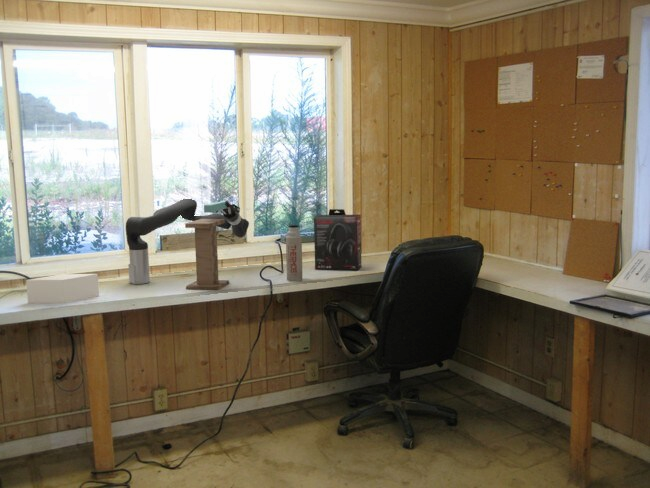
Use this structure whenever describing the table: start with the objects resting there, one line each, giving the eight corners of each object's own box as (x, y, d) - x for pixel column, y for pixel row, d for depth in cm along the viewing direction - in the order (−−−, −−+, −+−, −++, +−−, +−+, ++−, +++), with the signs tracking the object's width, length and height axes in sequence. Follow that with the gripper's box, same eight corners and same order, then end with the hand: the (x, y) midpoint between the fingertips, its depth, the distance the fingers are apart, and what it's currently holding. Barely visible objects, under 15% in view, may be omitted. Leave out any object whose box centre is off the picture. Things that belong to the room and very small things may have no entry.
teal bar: (222, 207, 343) (222, 200, 343) (229, 207, 343) (228, 200, 342) (204, 212, 318) (203, 205, 318) (210, 212, 317) (210, 205, 317)
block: (100, 299, 296) (99, 276, 294) (28, 307, 284) (26, 283, 282) (97, 293, 310) (96, 271, 308) (28, 300, 297) (26, 277, 296)
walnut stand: (200, 281, 332) (197, 218, 327) (230, 282, 329) (228, 219, 324) (184, 290, 313) (181, 223, 308) (216, 291, 310) (213, 223, 305)
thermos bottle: (298, 281, 328) (297, 226, 324) (284, 280, 331) (282, 225, 327) (305, 278, 335) (304, 224, 331) (290, 277, 338) (289, 224, 334)
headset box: (314, 269, 360) (313, 210, 355) (319, 265, 372) (318, 207, 367) (358, 271, 354) (357, 210, 349) (361, 266, 367) (361, 208, 362)
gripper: (243, 222, 350) (234, 209, 334) (218, 222, 353) (208, 208, 337) (245, 209, 353) (236, 195, 337) (220, 209, 356) (210, 195, 340)
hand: (222, 202), depth 337 cm, fingers closed on teal bar, 3 cm apart
